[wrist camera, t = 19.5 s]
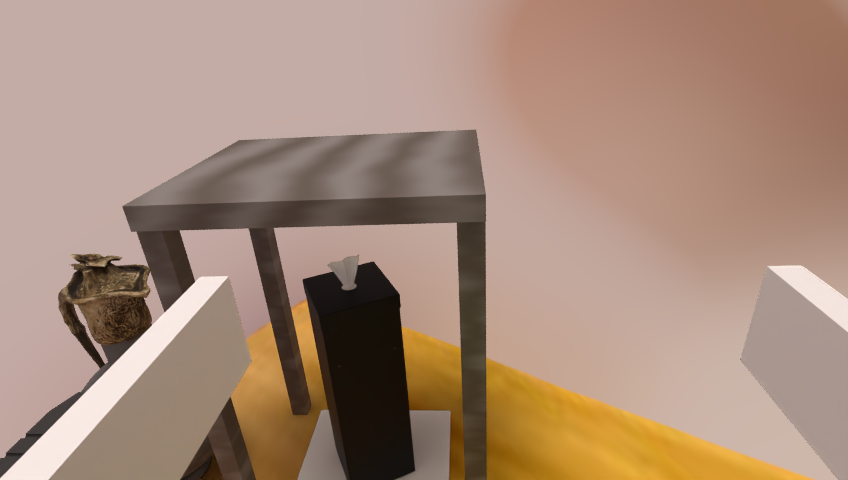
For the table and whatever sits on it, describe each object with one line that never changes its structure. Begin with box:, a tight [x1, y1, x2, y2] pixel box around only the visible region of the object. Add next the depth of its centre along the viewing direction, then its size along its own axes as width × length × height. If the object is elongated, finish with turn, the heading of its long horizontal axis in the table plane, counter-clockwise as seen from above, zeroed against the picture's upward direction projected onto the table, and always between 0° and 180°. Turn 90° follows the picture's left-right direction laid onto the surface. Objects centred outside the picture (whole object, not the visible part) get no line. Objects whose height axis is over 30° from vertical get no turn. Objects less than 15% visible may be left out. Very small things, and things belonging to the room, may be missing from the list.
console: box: [123, 130, 487, 480], centre depth 50 cm, size 26×20×38 cm
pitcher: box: [58, 254, 213, 480], centre depth 53 cm, size 11×19×30 cm, turn 64°
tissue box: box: [303, 255, 415, 480], centre depth 52 cm, size 8×8×28 cm
